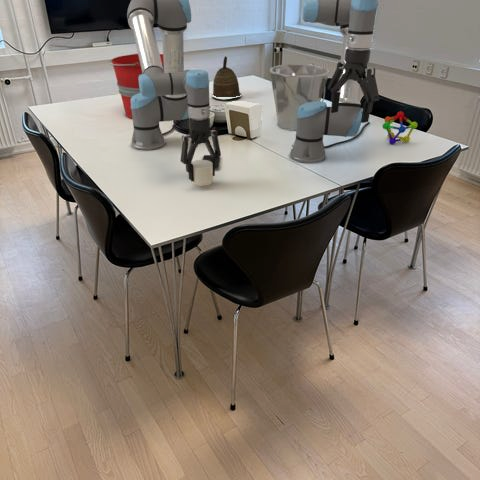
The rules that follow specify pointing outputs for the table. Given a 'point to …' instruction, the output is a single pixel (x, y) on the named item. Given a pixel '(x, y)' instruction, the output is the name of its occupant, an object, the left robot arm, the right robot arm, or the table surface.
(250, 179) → the table surface
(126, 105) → the bucket
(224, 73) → the bell
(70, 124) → the table surface
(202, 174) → the canister
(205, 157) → the smartphone
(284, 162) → the table surface
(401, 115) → the educational toy
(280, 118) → the bucket
